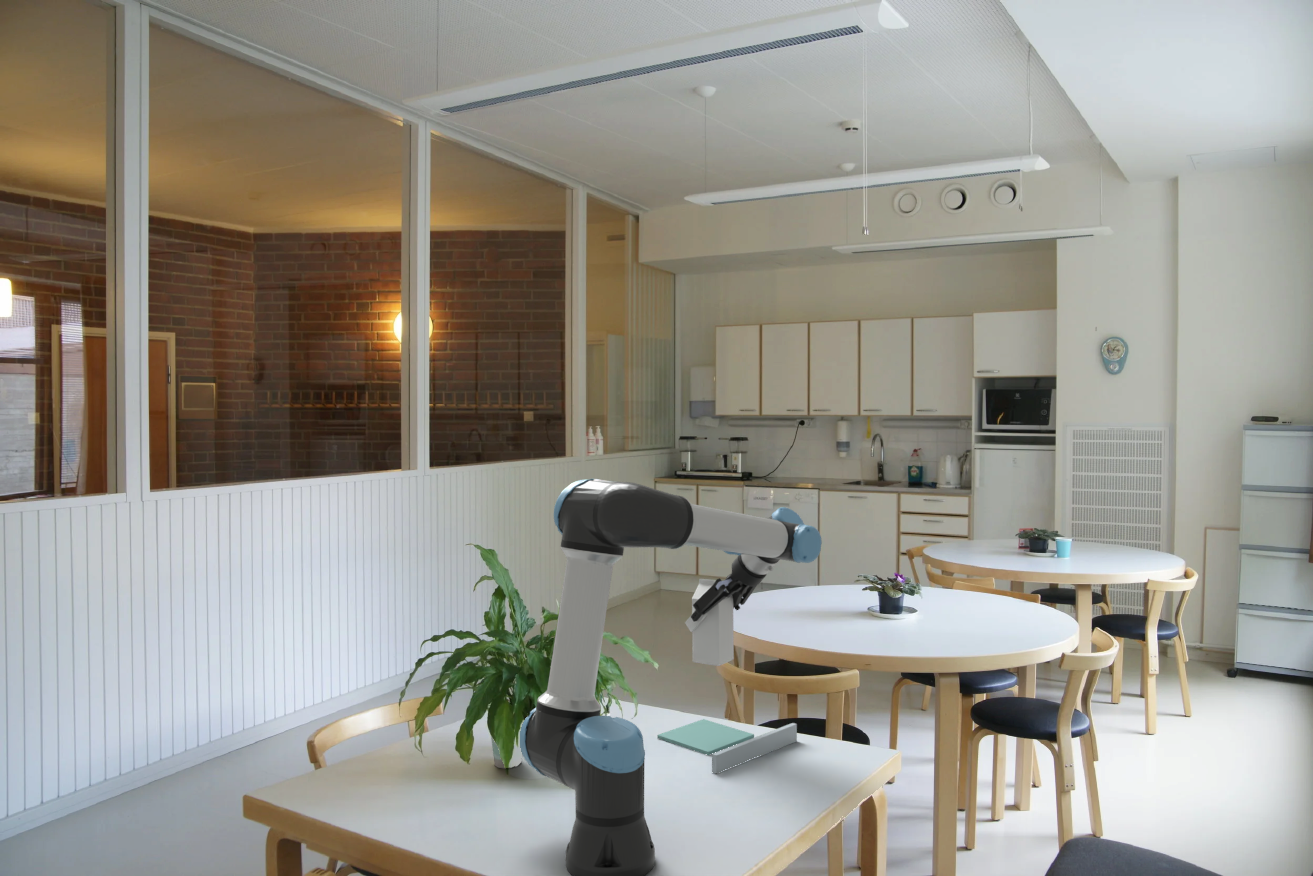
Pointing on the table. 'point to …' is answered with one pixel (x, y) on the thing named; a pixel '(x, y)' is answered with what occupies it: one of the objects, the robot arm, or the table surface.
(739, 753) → the acrylic wall
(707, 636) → the milk carton
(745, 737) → the teal board
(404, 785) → the table surface
